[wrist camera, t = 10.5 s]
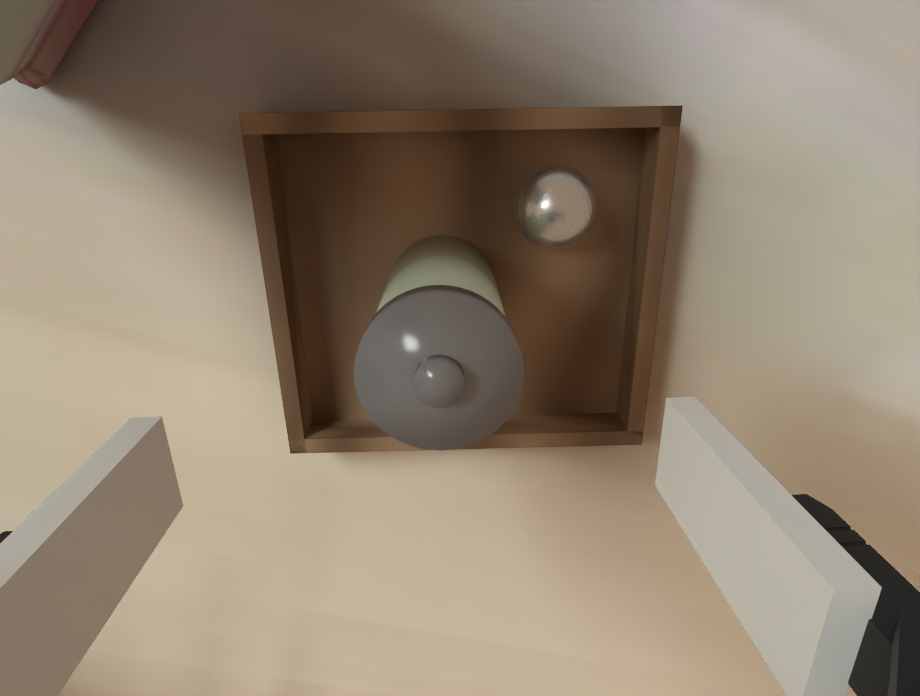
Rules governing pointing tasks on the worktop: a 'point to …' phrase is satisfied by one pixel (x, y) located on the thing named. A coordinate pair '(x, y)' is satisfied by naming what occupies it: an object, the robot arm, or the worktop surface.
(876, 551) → the robot arm
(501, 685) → the worktop surface
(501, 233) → the tray
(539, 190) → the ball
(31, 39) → the bottle
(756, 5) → the worktop surface
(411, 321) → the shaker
